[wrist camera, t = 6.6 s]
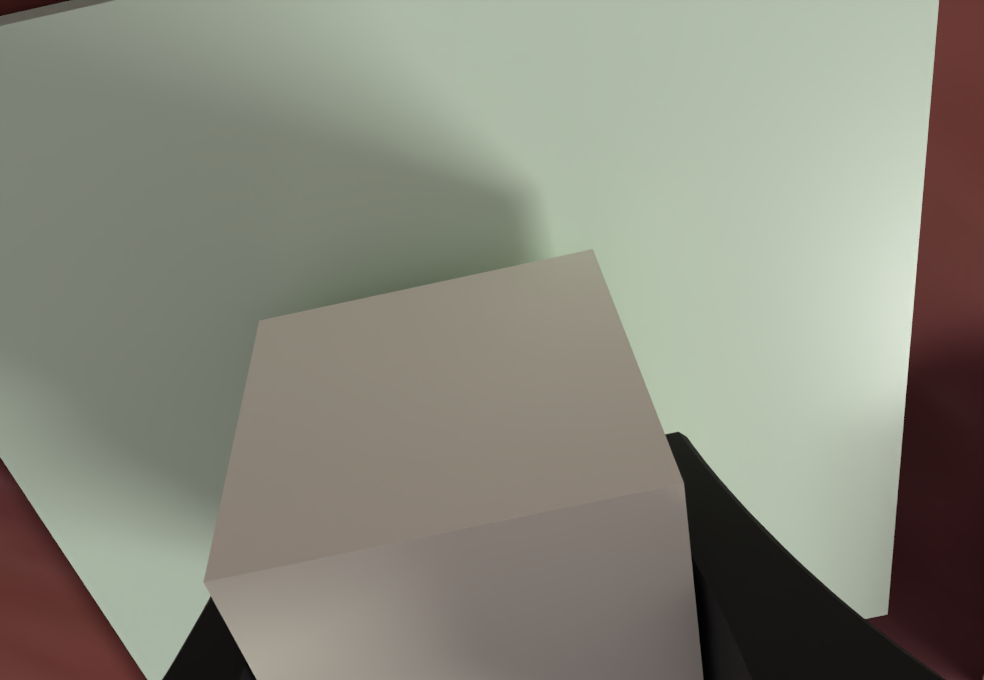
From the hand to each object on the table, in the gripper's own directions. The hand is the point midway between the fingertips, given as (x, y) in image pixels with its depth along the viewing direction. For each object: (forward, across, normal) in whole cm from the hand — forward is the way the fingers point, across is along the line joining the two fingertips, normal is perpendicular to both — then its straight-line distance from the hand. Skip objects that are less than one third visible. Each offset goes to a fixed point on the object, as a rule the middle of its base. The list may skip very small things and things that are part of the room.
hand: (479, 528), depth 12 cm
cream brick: (+2, 0, 0) cm, 2 cm away
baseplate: (+3, 0, 0) cm, 3 cm away
